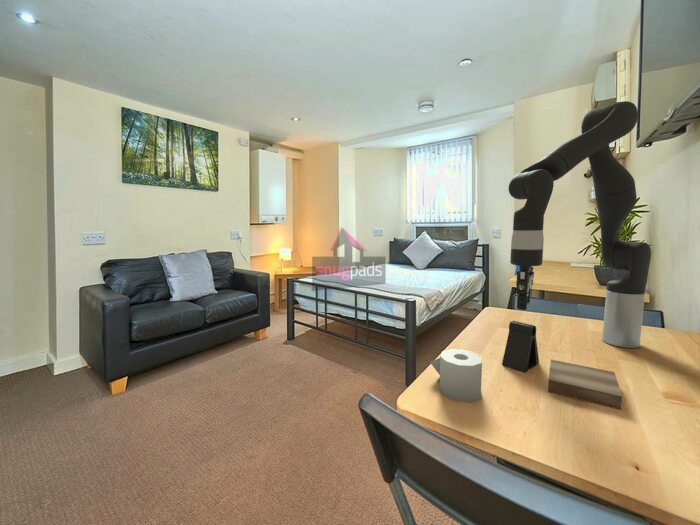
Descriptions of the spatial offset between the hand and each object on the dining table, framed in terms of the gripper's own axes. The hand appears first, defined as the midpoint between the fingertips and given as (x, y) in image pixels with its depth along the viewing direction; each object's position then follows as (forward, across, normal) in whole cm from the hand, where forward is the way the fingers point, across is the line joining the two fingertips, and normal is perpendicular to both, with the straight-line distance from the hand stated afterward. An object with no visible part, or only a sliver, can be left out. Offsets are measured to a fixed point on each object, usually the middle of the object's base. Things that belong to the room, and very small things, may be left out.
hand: (523, 305), depth 84 cm
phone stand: (+17, 0, 0) cm, 17 cm away
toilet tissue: (+17, -23, +11) cm, 31 cm away
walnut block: (+17, -6, -14) cm, 22 cm away
